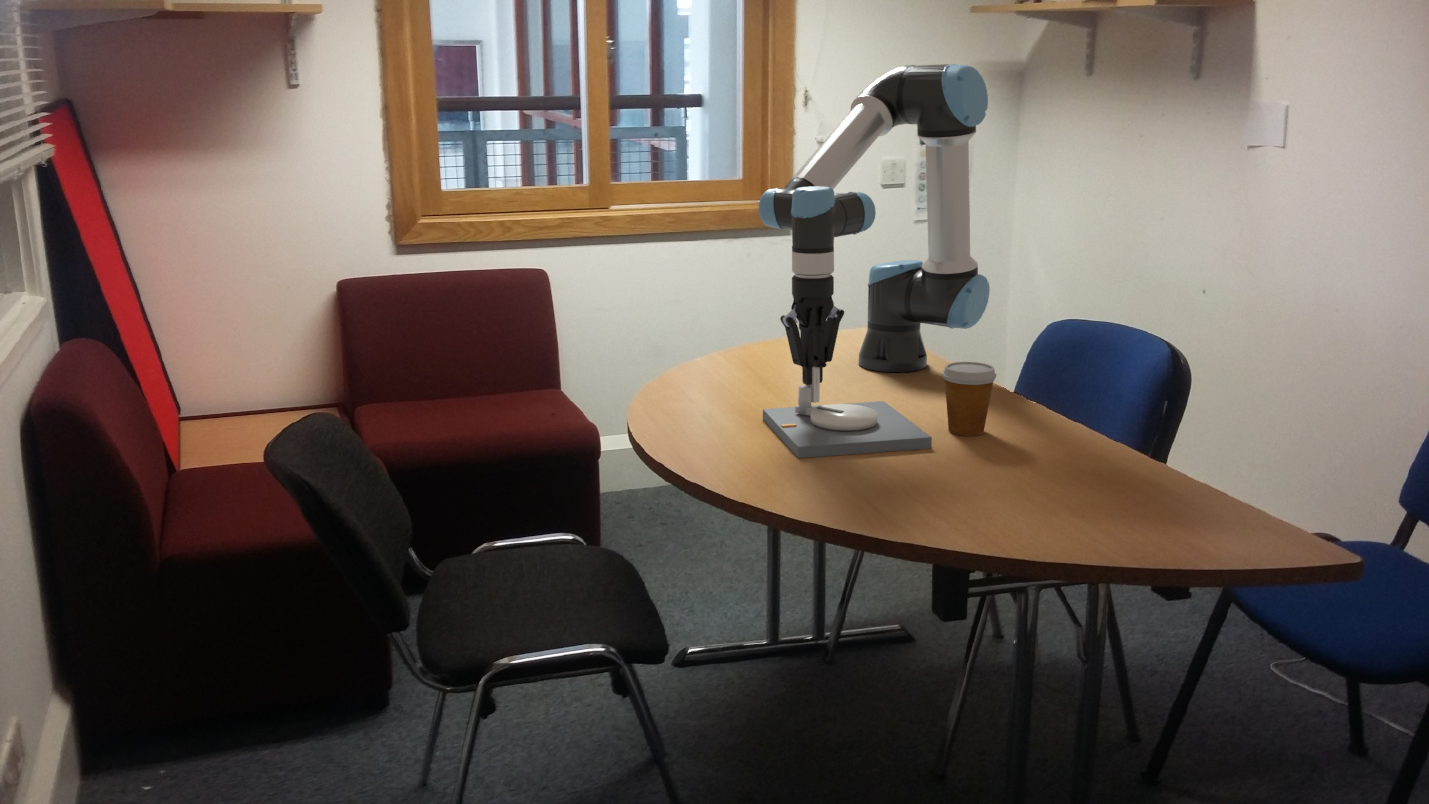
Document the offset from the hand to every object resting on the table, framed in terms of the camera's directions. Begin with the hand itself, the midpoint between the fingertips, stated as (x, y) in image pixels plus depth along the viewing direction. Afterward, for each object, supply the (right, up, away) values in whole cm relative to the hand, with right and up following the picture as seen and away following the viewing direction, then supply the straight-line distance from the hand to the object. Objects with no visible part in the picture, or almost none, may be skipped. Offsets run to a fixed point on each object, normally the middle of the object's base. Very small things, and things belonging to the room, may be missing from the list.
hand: (812, 400), depth 215 cm
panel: (+5, -6, -5) cm, 9 cm away
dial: (+4, -3, -4) cm, 6 cm away
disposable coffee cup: (+28, -6, -4) cm, 28 cm away
